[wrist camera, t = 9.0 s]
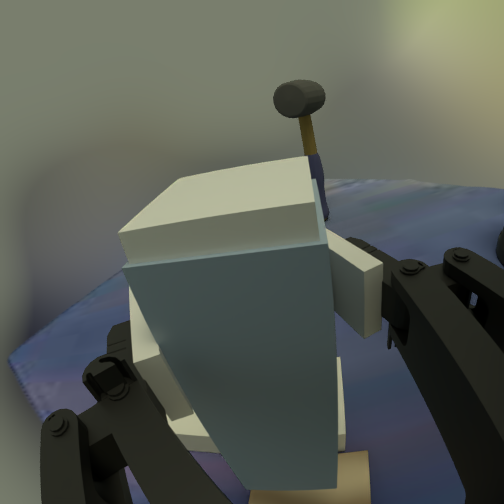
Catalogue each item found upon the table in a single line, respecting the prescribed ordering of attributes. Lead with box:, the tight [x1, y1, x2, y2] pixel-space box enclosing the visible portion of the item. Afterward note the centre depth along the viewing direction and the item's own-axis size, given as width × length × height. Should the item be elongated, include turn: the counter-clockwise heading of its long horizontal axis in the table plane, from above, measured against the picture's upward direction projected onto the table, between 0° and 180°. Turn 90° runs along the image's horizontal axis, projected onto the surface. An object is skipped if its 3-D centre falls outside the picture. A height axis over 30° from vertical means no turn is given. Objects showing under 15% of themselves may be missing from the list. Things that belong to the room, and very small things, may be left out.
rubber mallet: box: [273, 80, 329, 221], centre depth 62 cm, size 12×8×30 cm, turn 152°
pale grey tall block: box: [118, 156, 338, 491], centre depth 11 cm, size 4×4×14 cm
